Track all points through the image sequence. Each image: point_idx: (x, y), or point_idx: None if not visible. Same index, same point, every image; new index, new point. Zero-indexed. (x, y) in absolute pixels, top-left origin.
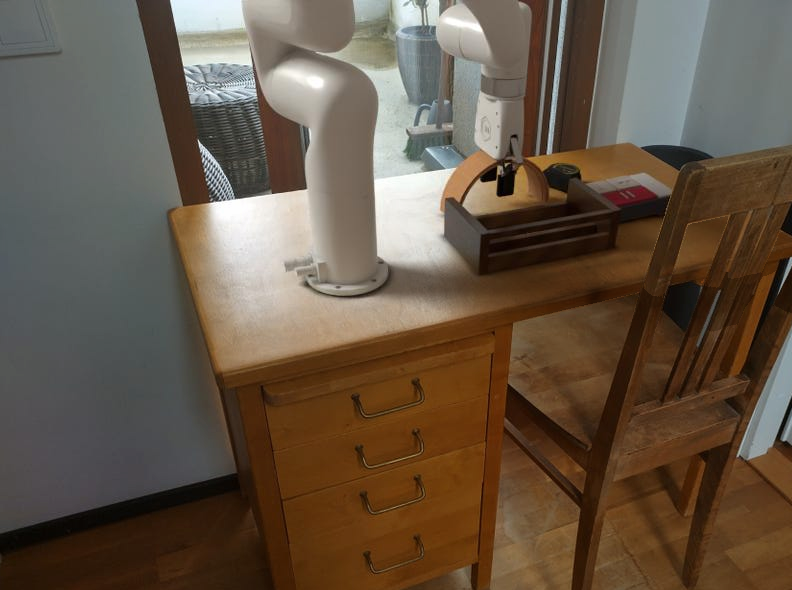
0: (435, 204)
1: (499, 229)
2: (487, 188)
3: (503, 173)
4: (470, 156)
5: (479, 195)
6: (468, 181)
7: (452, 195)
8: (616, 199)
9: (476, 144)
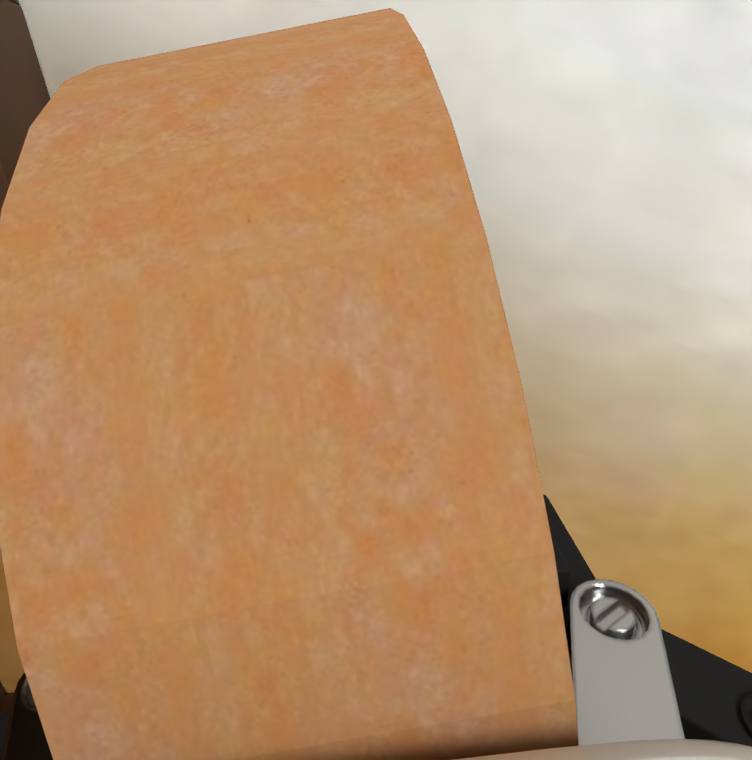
0: (567, 66)
1: None
2: (629, 467)
3: (17, 691)
4: (530, 507)
5: (568, 402)
6: (51, 251)
7: (218, 63)
8: None
9: (705, 757)
